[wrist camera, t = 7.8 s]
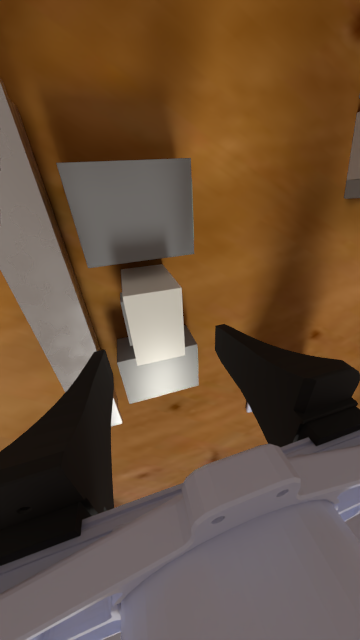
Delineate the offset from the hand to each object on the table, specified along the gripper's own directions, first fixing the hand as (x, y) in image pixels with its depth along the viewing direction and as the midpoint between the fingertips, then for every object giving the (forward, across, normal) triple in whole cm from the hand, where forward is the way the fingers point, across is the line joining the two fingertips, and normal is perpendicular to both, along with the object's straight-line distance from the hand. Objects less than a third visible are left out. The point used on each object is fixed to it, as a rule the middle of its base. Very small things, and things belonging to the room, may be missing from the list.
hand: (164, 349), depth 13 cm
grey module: (+9, 0, 0) cm, 9 cm away
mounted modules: (+9, 0, 0) cm, 9 cm away
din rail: (+9, +8, 0) cm, 12 cm away
